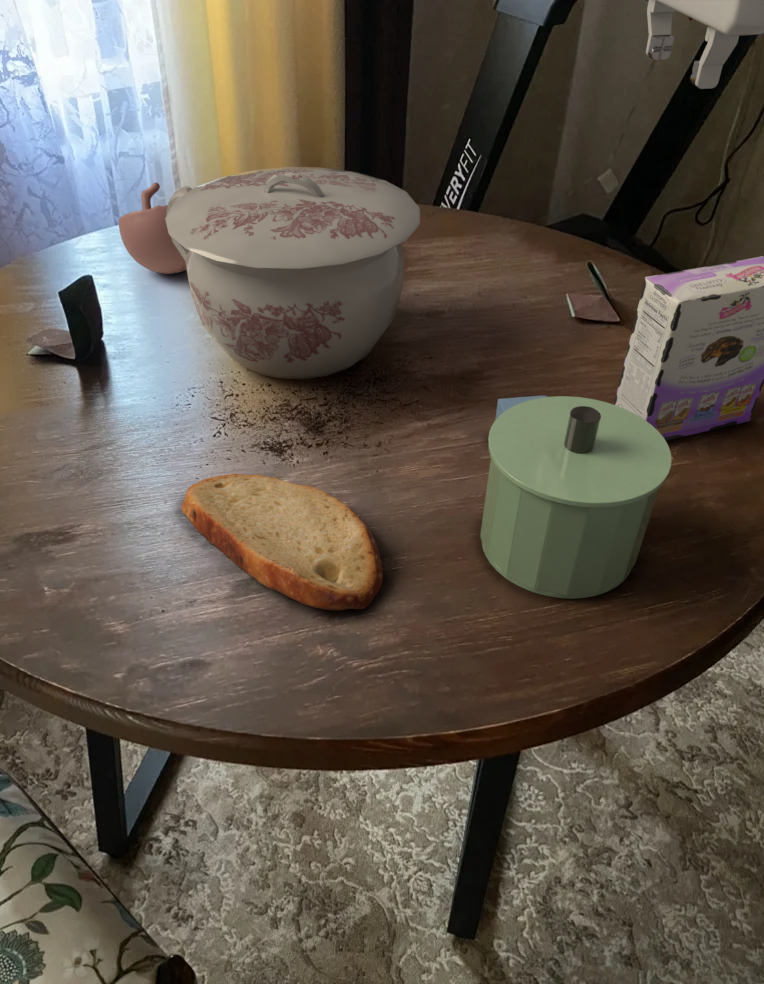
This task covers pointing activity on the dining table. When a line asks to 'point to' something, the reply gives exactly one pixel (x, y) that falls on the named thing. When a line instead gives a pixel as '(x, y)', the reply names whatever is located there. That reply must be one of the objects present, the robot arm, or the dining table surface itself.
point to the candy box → (697, 349)
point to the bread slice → (289, 538)
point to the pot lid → (579, 451)
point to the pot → (560, 540)
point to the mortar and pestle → (150, 237)
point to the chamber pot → (294, 264)
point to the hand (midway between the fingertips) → (678, 71)
